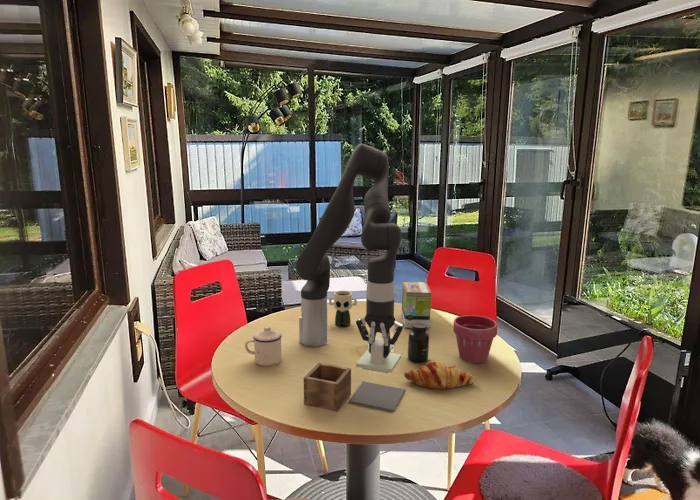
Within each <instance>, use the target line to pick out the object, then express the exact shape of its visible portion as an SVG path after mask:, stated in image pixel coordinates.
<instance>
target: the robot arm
mask: <svg viewBox="0 0 700 500" xmlns="http://www.w3.org/2000/svg"><path fill="white" fill-rule="evenodd" d="M389 163H390V162H389V157H388V155H387V153H385V152H384V151H382V150H380V149H377V148H375V147H373V146H370V145H367V144H366V143H358V145H356V146H355V148H354V149H353V150H352V153H351V155H350V157H349V159H348V161H347V164H346V166H345V169H344V171H343V173H342V176H341V179H340V181H339V183H338V184H337V187H336V189H335V191H334V192H333V195H332V196H331V199H330V200H329V202H328V204H327V206H326V208H325V210H324V211H323V213H322V216H321V218H320V220H319V222H318V223H317V226H316V228H315V229H314V231H313V233H312V235H311V237H310V240H309V241H308V242H307V244H306V245H305V247H304V249H303V250H302V251H301V252H300V254H299V256H298V258H297V260H296V262H295V263H296V264H295V271H296V274H297V277H299V278H300V279H301V280H304V281H306V282H305V284H304V285H303V287H302V288H301V290H300V306H301V307H300V311H301V314H300V315H301V316H299V318H298V327H299V329H298V330H299V331H298V332H299V333H298V334H299V335H298V336H299V337H298V338H299V340H298V343H300V344H303V346H305V347H313V348H315V347H322V346H325V345H326V344H327V343H328V290H329V288H330V283H331V281H330V280H331V279H330V277H331V262H330V258H329V256H328V255H327V254H326V253H327V252H328V251H329V249H330V248H331V247H332V246H333V245H334V244H335V243H336V242H337V241H339V239H340V238H341V237H343V235H344V234H345V233H346V231H347V230H348V228H349V226H350V224H351V222H352V221H353V219H354V217H355V200H354V189H353V188H354V183H355V181H356V178H357V176H361V177H364V178H366V179H369V180H372V181H373V183H374V184H373V185H371V187H370V188H369V189H368V190H367V192H366V193H365V195H364V199H363V207H364V217H365V218H364V224H363V226H362V230H361V235H360V242H361V244H362V246H363V247H364V248H365V249H366V250H368V251H385V253H384V254H383V255H381V256H377V257H373V258H371V259H369V260H368V262H367V282H366V291H365V292H366V293H365V294H366V295H365V296H366V302H365V303H366V306H365V307H366V308H365V310H366V311H365V313H366V314H365V316H364V317H359V318H358V319H357V320H356V321H355V324H356V327H357V328H358V329H357V330H358V331H359V334H360V336H361V339H362V341H366V342H368V349H369V353H370V354H371V345H372V343H373V342H374V341H375V340H376V339H377V337H376V336H377V333H379V334H381V338H383V340H384V351H383V358H386V357H387V356H388V355H389V354H390V353H391V346H394V345H395V344H396V342H397V341H398V339H399V337H400V336H401V333H402V331H403V329H404V328H405V325H404V322H403V323H400V322H398V321H396V318H395V294H396V293H395V284H394V283H395V282H394V281H395V278H394V276H395V275H394V274H395V262H396V258H397V255H398V251H399V248H400V244H401V241H402V230H401V228H400V226H399V225H398V224H396V223H392V222H391V223H390V221H391V218H392V214H391V208H390V202H389V196H388V195H389V194H388V191H389V188H388V187H389V172H390V171H389V170H390V169H389V168H390V167H389V165H390V164H389ZM366 324H367V326H368V328H369V331H368V328H367V327H366ZM392 327H394V331H395V332H394V334H393V336H392V338H391V330H390V329H391V328H392Z"/></svg>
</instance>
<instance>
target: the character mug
mask: <svg viewBox="0 0 700 500" xmlns="http://www.w3.org/2000/svg"><path fill="white" fill-rule="evenodd" d="M332 300H333V302H332ZM357 300H358V299H357V297H353V293H352V291H349V290H336V291H334V292H333V296H329V297H328V304H329V306H333V307H334V309H335V310H336V312H335V318H334V323H335V326H341V327H342V325H343V327H344V326H350V325H351V321H352V320H351V314H350V310H352V307H353V306H354V307H356V306H357V305H358V303H357V302H358V301H357Z"/></svg>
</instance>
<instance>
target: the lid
mask: <svg viewBox="0 0 700 500" xmlns="http://www.w3.org/2000/svg"><path fill="white" fill-rule="evenodd" d="M383 351H384V340H383V337H378V336H377V337H376V338H375V341H374V342H373V343H372V345H371V354H370V353H369V348H368V349H367V350H366V351H365V352H364V353H363V354H362V356H361V357H360V358H359V359H358V360H357V362H356V363H355V366H356V368H360V369H362V370H365V371H371V372H378V373H385V374H389V373H393V372H394V370H395V368H396V367H397V365H398V364H399V362H400V360H401V359H402V353H401V354H400V353H394V352H390V354H389V355H388V356H387V357H386V358H383Z"/></svg>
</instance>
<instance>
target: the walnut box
mask: <svg viewBox="0 0 700 500" xmlns="http://www.w3.org/2000/svg"><path fill="white" fill-rule="evenodd" d="M350 396H352V368H350V367H346V366H339V365H334V364H328V363H323V362H318V363H317V364H316V365H315V366H314V367H312V369H311V370H310V371H309V372H308V373H307V374H306V375H304V376H303V406H309V407H313V408H319V409H323V410H328V411H332V412H336V413H337V412H339V411H340V410H341V408H342V407H343V405H344V404H345V403H346V402H347V400H349V399H350Z"/></svg>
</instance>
